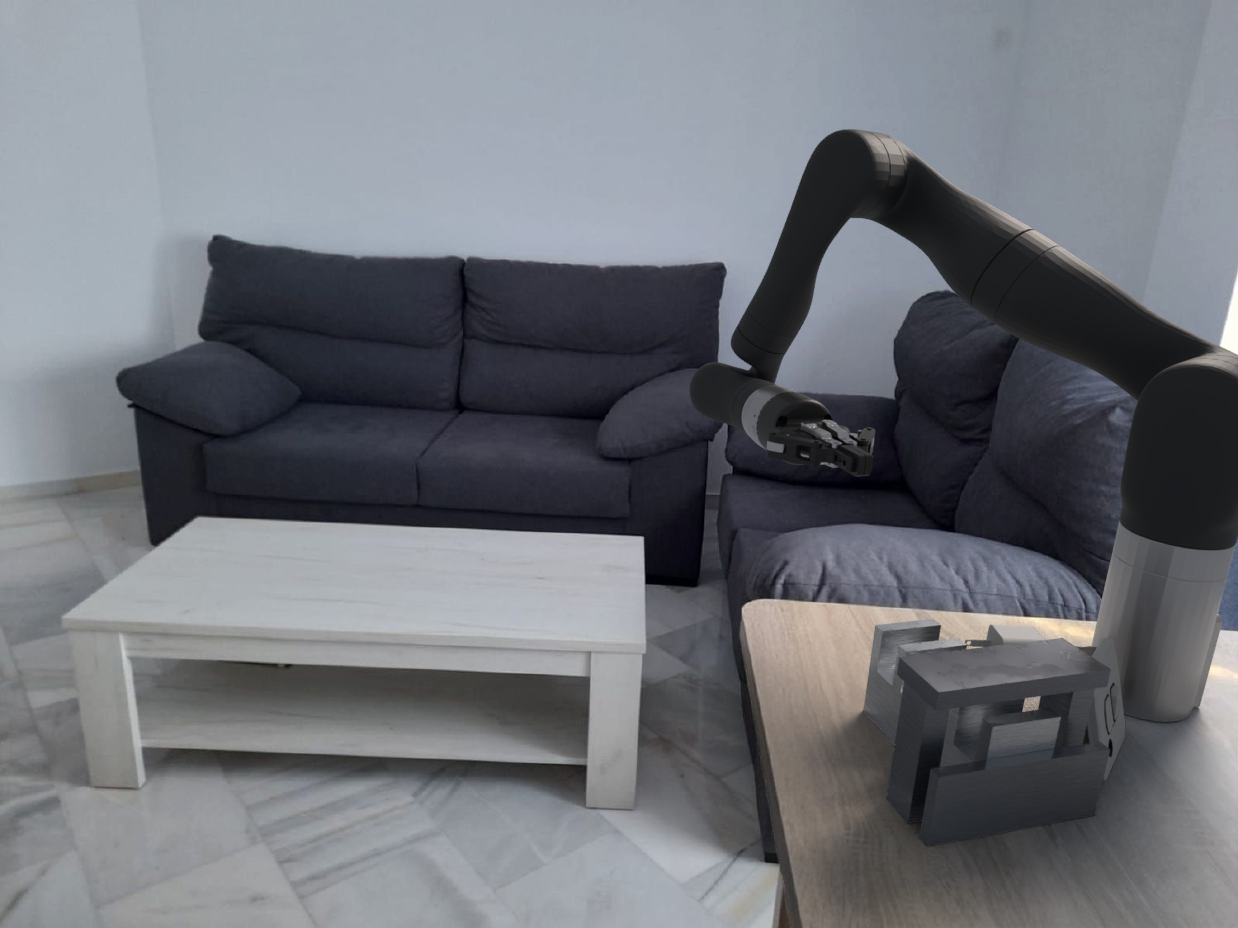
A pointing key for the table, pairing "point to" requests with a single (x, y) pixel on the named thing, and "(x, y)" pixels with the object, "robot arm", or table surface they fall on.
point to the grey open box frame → (1005, 785)
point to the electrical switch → (1106, 705)
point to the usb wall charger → (1007, 635)
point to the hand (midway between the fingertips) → (865, 466)
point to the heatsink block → (968, 727)
